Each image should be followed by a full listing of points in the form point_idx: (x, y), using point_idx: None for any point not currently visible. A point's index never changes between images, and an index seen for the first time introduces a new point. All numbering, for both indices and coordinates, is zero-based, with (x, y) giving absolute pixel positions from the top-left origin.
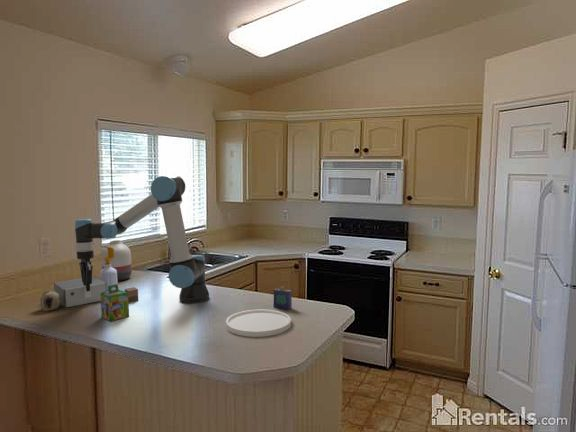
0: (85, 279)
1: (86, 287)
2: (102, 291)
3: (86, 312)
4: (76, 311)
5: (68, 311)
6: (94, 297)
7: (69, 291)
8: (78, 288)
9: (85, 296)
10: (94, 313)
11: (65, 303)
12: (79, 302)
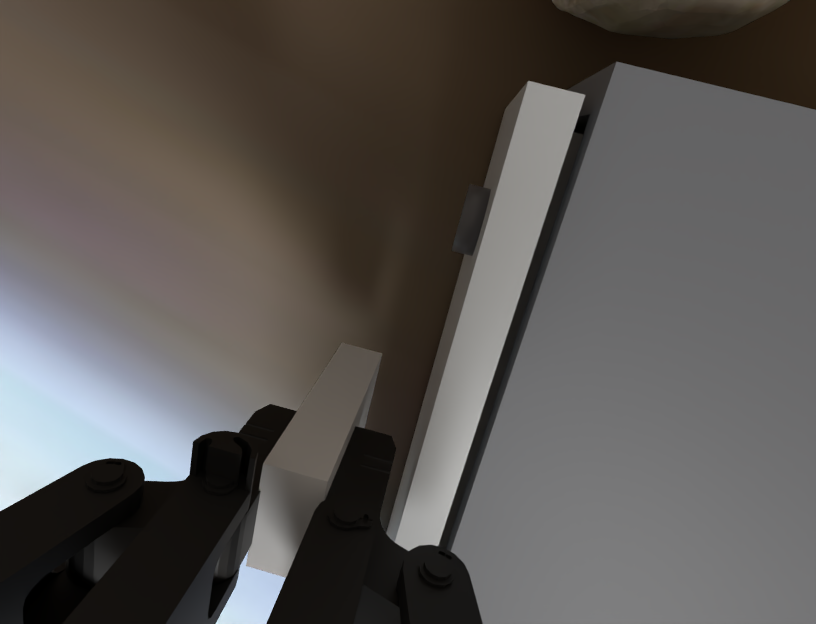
0: (110, 575)
1: (260, 450)
2: None
3: (106, 158)
4: (237, 103)
5: (322, 33)
6: (404, 475)
7: (496, 175)
8: (444, 371)
9: (334, 354)
10: (7, 192)
11: None
12: (456, 286)
